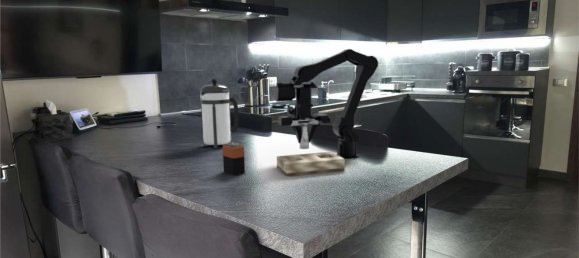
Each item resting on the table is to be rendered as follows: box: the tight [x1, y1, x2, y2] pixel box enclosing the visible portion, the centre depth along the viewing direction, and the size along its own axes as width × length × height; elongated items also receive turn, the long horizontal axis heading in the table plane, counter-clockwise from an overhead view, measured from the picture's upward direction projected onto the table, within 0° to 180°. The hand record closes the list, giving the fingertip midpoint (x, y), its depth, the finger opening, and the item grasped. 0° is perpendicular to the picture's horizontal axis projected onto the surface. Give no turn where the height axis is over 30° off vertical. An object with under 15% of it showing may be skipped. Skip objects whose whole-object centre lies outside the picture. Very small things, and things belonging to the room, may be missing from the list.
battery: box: [222, 141, 246, 176], centre depth 131 cm, size 4×7×10 cm, turn 42°
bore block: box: [276, 151, 346, 177], centre depth 134 cm, size 20×12×4 cm, turn 107°
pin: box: [298, 123, 310, 150], centre depth 147 cm, size 4×4×9 cm
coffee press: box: [199, 78, 240, 150], centre depth 176 cm, size 17×16×30 cm
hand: (304, 142), depth 147 cm, fingers closed on pin, 3 cm apart
